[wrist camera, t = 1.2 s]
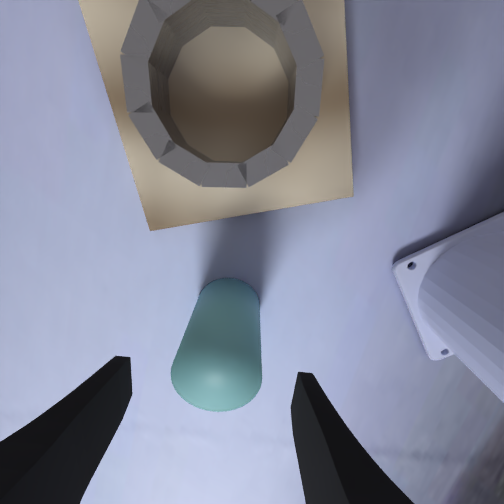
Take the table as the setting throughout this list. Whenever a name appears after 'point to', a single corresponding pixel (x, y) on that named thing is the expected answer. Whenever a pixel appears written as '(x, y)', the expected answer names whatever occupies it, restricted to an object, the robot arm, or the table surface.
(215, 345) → the teal cylinder
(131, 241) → the table surface
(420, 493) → the table surface
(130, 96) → the socket collar
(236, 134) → the dock plate
